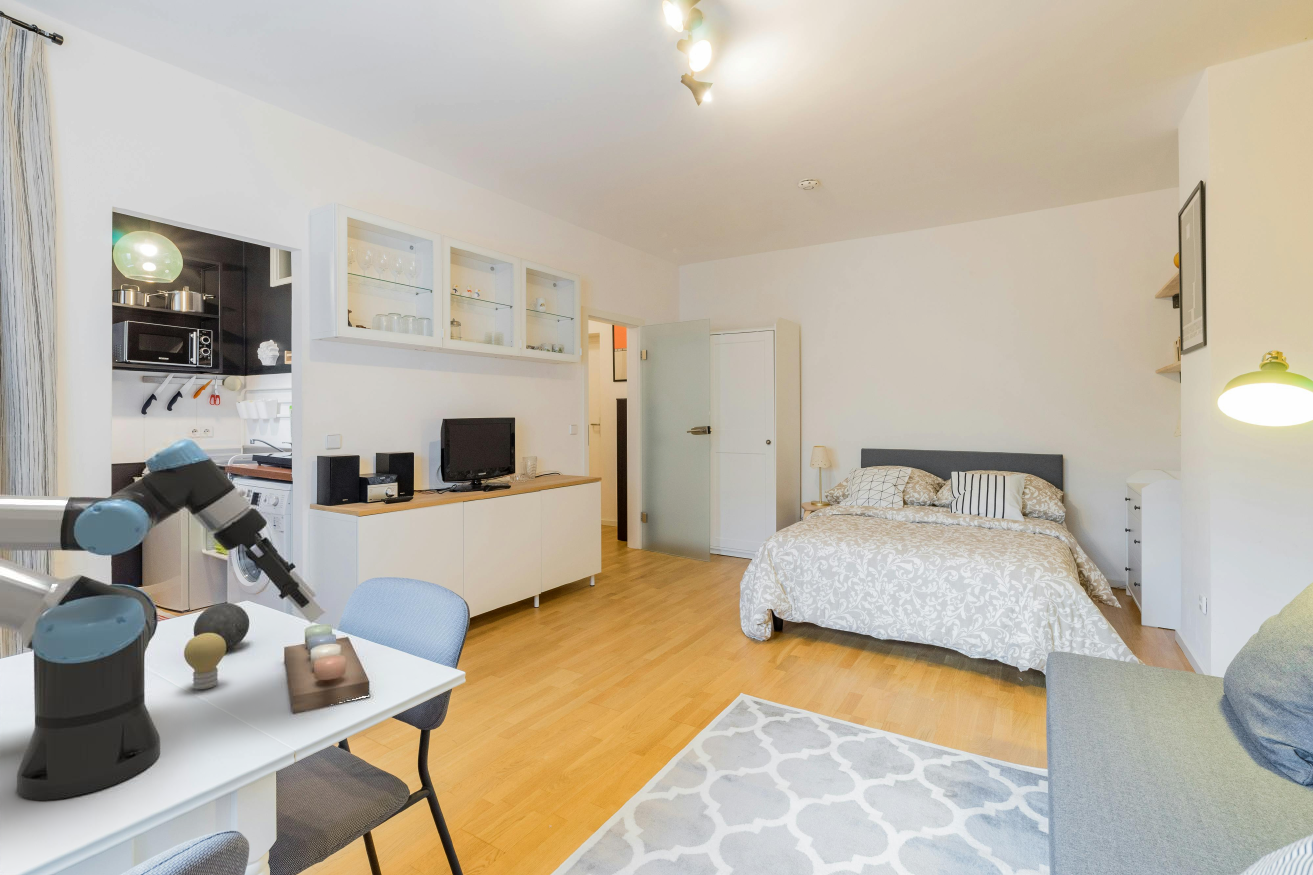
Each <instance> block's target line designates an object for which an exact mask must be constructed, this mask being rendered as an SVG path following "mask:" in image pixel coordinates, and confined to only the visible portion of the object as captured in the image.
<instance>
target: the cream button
mask: <svg viewBox="0 0 1313 875" xmlns="http://www.w3.org/2000/svg"><path fill="white" fill-rule="evenodd" d="M330 655H341V646H340V645H338V644H324V645H319V646H316V647H314V648H312V649H311V666H314V661H315V660H317V659H319V658H321V657H325V656H330Z"/></svg>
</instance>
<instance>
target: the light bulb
mask: <svg viewBox="0 0 1313 875" xmlns="http://www.w3.org/2000/svg"><path fill="white" fill-rule="evenodd" d="M226 651H227V650H226V643H225V640H224V639H223V638H222V637H221V636H220V635H218V634H214V633H204V634H200V635H197V636H195V637H194V636H193V637H192V638H190V639H189V640H188V642H187V643H186V644H185V647H184V650H183V657H184V659H185V661H186V663H187V665H189V666H190V667H191V668H192V669H193V673H192V676H193V679H192V682H193V684H192V685H193V686H192V687H193V688H194V689H196V690H200V691H201V690H207V689H210V688H213V687H214V686H216V685H217V684H218V681H219V679H218V676H219V675H218V671H219V670H218V667H217V666H218V665H219V664H220V662H221V661H222V660H223V657H224V656H225V654H226Z"/></svg>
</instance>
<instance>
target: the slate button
mask: <svg viewBox="0 0 1313 875" xmlns="http://www.w3.org/2000/svg"><path fill="white" fill-rule="evenodd" d="M336 639H337V635H336V634H335V633H332V634H319V635H315V636H312V637H310V638H308V654H309V655H311V649H312V648H314V647H316V646H319V645H324V644H336Z"/></svg>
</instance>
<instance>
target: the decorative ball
mask: <svg viewBox="0 0 1313 875" xmlns="http://www.w3.org/2000/svg"><path fill="white" fill-rule="evenodd" d="M249 629H250V618H249V615H248V613H247V611H246V610H245V609H244V608H242V606H240V605H238V604H234V603H231V602H230V603H228V602H223V603H222V602H221V603H218V604H214V605H210V606H209V607H208V608H206V609H205V610H204V611H203V612H202V613H200V614H199V616H198V617H197V618H196V621H195V622H194V625H193V638H194V637H195V636H197V635H200V634H204V633H214V634H218V635H220V636H221V637H222V638H223V639H224V640H225V643H226V651H227V650H230V649H232V648H233V647H235V646H237V645H239V643H242V641H243V640H244V638H246V635H248V634H247V633H248V632H249Z"/></svg>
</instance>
